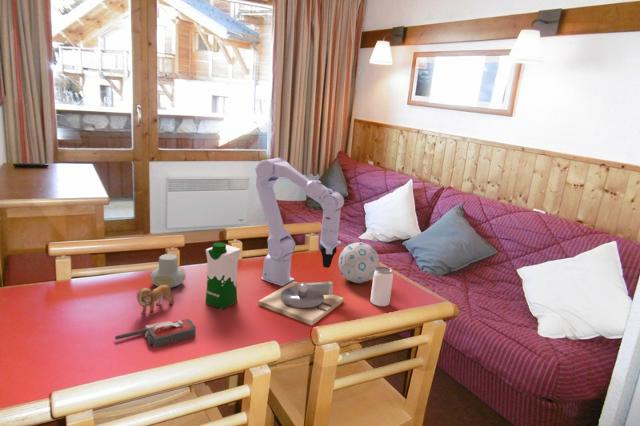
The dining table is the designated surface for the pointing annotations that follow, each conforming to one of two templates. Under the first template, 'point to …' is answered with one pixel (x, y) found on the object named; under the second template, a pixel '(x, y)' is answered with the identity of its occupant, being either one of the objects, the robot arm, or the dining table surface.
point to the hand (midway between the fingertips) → (326, 266)
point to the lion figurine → (153, 297)
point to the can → (381, 286)
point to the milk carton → (222, 275)
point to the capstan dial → (306, 295)
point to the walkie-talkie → (165, 332)
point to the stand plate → (302, 315)
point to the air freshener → (168, 272)
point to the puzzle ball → (358, 262)
